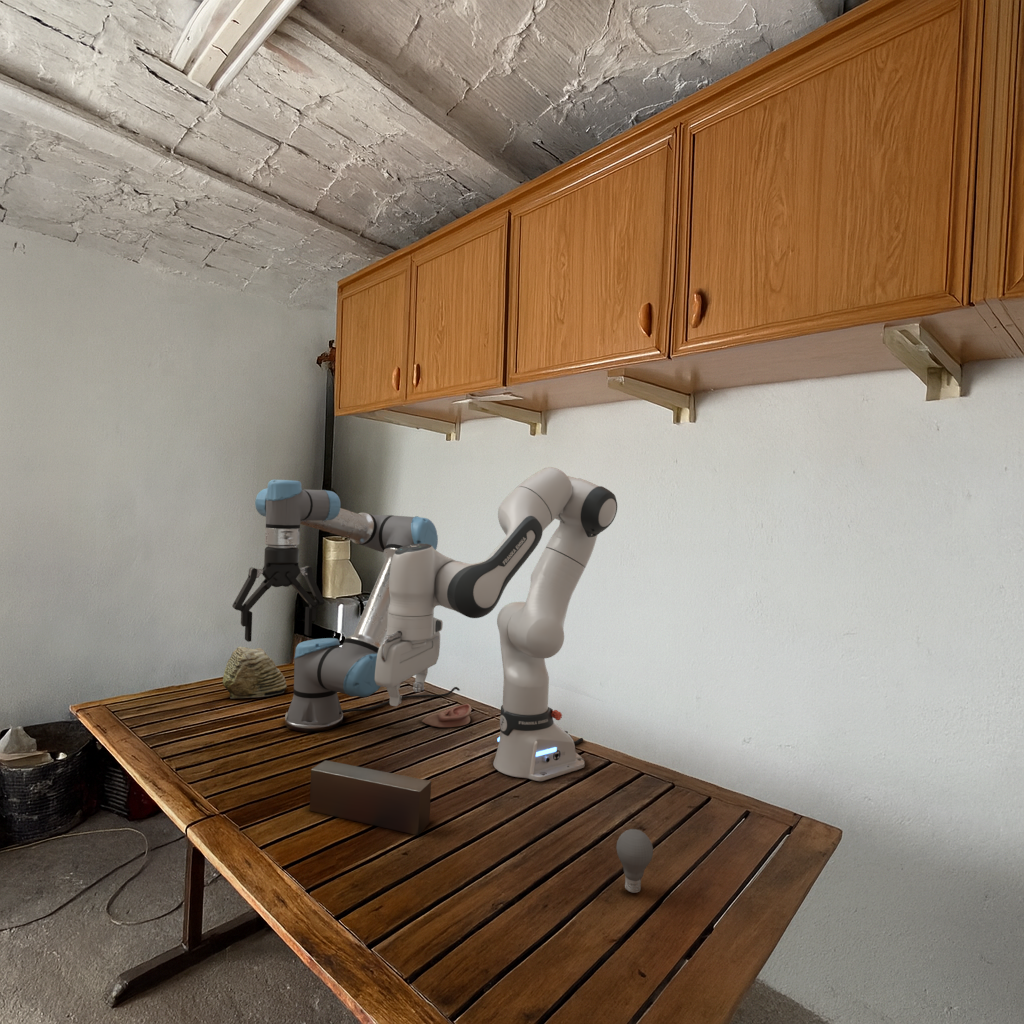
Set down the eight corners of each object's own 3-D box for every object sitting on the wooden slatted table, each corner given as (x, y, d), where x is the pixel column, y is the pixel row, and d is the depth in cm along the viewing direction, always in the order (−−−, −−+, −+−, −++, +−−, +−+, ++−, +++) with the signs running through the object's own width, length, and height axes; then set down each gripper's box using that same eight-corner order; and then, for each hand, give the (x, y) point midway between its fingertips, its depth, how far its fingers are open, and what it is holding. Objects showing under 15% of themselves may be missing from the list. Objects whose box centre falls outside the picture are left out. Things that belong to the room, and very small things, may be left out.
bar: (309, 810, 128) (310, 769, 128) (324, 800, 132) (325, 760, 132) (418, 835, 120) (419, 791, 120) (429, 823, 125) (431, 780, 125)
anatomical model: (418, 710, 178) (431, 698, 189) (418, 724, 178) (431, 711, 189) (464, 716, 175) (474, 703, 186) (463, 730, 175) (474, 716, 186)
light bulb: (610, 879, 108) (613, 822, 108) (644, 879, 109) (647, 822, 109) (619, 902, 102) (622, 840, 102) (655, 901, 103) (658, 840, 103)
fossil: (218, 695, 195) (220, 647, 195) (278, 685, 208) (279, 640, 207) (228, 703, 189) (230, 653, 188) (289, 692, 201) (290, 645, 201)
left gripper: (228, 548, 136) (224, 646, 137) (340, 547, 151) (336, 635, 151) (220, 545, 142) (217, 639, 143) (328, 544, 157) (325, 629, 158)
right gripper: (398, 639, 112) (395, 716, 113) (446, 620, 132) (443, 686, 132) (367, 635, 114) (364, 711, 114) (419, 617, 134) (416, 682, 134)
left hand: (278, 637), depth 147 cm, fingers open, 13 cm apart
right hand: (407, 697), depth 123 cm, fingers open, 8 cm apart
